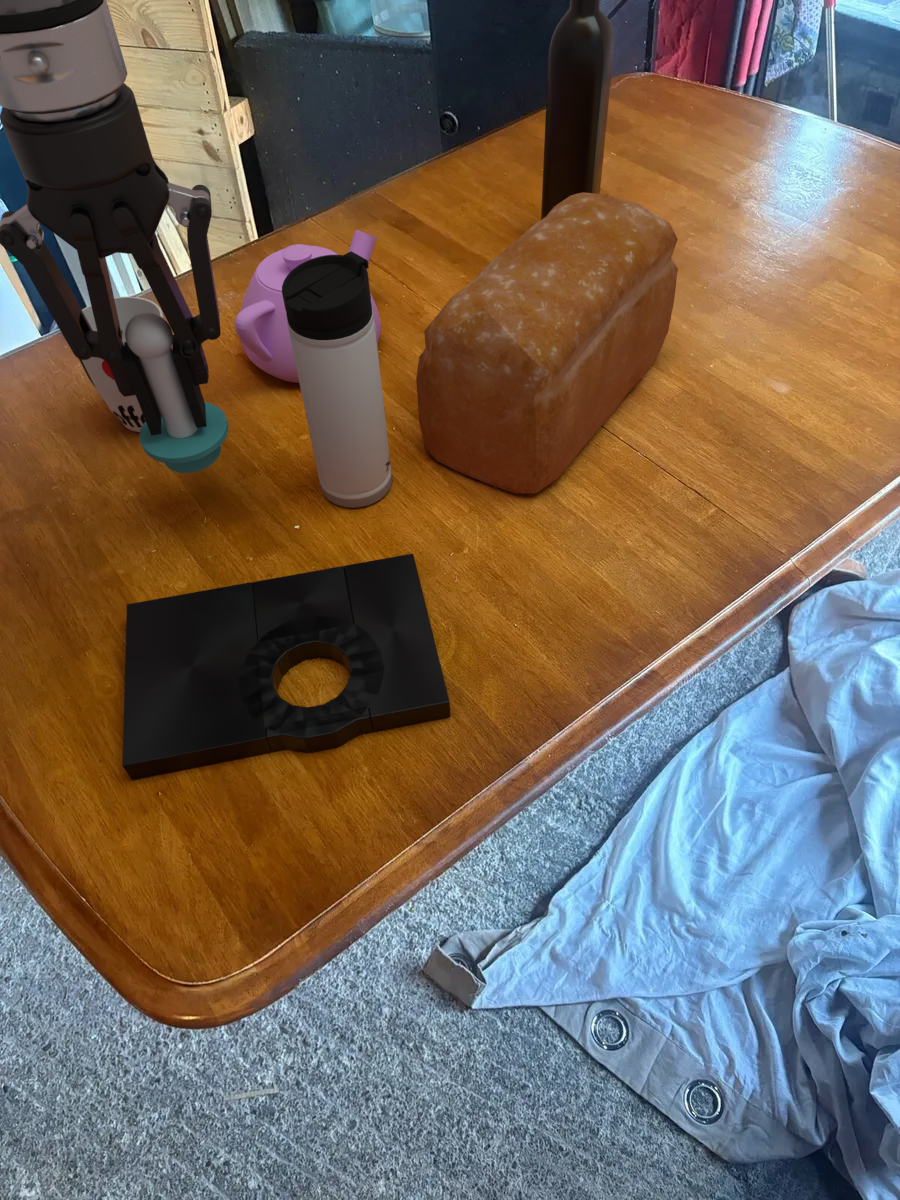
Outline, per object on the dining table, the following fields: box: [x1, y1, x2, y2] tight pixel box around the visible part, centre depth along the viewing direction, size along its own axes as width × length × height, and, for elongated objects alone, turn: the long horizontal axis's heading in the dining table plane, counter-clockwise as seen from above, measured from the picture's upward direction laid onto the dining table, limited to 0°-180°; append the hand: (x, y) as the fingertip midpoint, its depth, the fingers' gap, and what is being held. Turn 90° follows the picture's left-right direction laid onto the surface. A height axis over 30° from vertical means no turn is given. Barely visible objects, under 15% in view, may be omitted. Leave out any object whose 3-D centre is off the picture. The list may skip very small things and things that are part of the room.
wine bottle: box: [540, 0, 615, 220], centre depth 90 cm, size 6×6×30 cm
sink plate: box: [121, 553, 451, 781], centre depth 64 cm, size 22×15×2 cm, turn 102°
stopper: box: [125, 312, 230, 474], centre depth 66 cm, size 7×7×13 cm
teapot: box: [234, 229, 382, 384], centre depth 86 cm, size 14×20×11 cm
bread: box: [415, 193, 679, 495], centre depth 78 cm, size 14×26×16 cm, turn 147°
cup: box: [78, 296, 165, 433], centre depth 80 cm, size 8×8×10 cm
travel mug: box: [282, 251, 393, 509], centre depth 70 cm, size 6×7×20 cm
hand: (178, 419), depth 69 cm, fingers closed on stopper, 3 cm apart
